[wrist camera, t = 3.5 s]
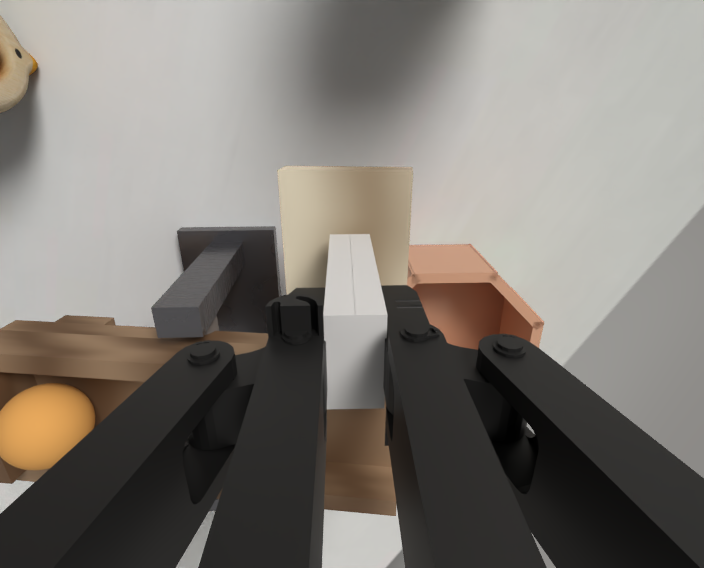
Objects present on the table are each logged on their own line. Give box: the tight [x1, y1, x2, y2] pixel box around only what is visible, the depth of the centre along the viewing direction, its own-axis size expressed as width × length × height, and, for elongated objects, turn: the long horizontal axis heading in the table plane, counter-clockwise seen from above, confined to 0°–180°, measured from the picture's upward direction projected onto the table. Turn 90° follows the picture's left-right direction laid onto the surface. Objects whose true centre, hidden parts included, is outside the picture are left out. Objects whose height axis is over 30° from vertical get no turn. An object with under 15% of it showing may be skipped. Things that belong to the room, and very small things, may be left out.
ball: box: [0, 383, 95, 470], centre depth 20 cm, size 4×4×4 cm
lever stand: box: [151, 227, 281, 511], centre depth 25 cm, size 6×14×10 cm, turn 0°
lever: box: [0, 166, 413, 516], centre depth 20 cm, size 20×16×6 cm
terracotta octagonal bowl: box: [407, 244, 544, 350], centre depth 28 cm, size 11×11×5 cm
